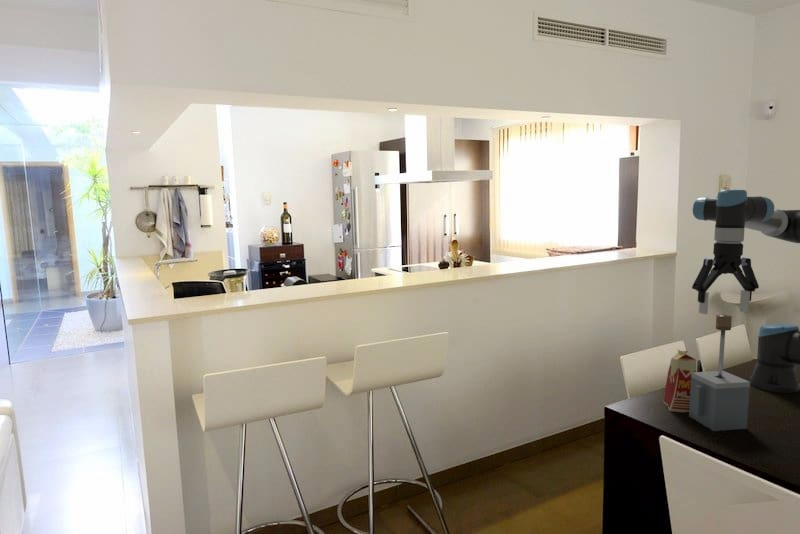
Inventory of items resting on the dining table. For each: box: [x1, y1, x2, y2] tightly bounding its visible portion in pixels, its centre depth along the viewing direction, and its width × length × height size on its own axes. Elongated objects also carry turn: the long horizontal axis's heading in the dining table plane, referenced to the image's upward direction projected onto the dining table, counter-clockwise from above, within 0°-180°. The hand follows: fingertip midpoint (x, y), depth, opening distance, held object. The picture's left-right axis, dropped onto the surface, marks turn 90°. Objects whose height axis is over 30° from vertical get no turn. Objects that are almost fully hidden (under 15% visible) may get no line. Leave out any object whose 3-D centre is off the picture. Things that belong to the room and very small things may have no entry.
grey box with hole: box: [688, 370, 751, 432], centre depth 168 cm, size 13×11×14 cm
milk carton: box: [662, 349, 697, 413], centre depth 181 cm, size 9×9×20 cm
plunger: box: [715, 314, 733, 378], centre depth 167 cm, size 8×8×24 cm
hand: (723, 312), depth 165 cm, fingers open, 13 cm apart
